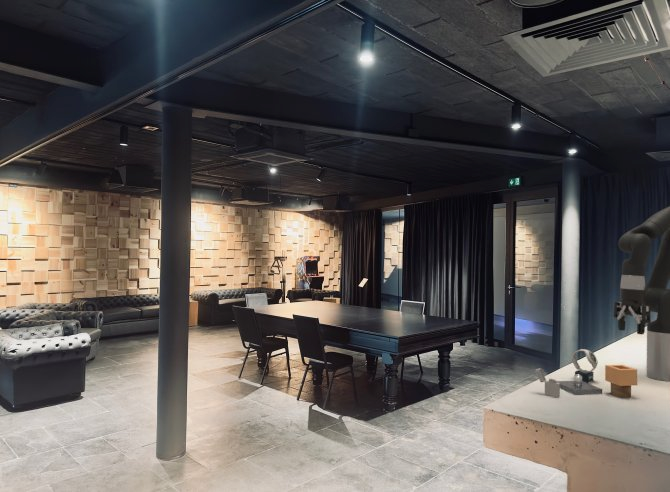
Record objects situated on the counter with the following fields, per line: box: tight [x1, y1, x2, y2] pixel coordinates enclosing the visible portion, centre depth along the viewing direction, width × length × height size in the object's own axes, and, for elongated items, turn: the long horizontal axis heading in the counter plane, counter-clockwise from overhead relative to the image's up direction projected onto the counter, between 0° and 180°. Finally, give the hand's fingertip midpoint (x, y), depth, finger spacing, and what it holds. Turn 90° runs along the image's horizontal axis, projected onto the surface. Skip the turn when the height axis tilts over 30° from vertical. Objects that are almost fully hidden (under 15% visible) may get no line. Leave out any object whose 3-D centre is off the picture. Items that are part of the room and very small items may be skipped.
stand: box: [610, 382, 632, 399], centre depth 147 cm, size 6×6×7 cm
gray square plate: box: [556, 374, 603, 396], centre depth 153 cm, size 10×10×5 cm
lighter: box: [535, 367, 561, 399], centre depth 146 cm, size 7×2×8 cm, turn 49°
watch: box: [571, 348, 599, 384], centre depth 164 cm, size 6×8×11 cm
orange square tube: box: [604, 364, 638, 387], centre depth 147 cm, size 6×6×5 cm
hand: (630, 332), depth 167 cm, fingers open, 8 cm apart
